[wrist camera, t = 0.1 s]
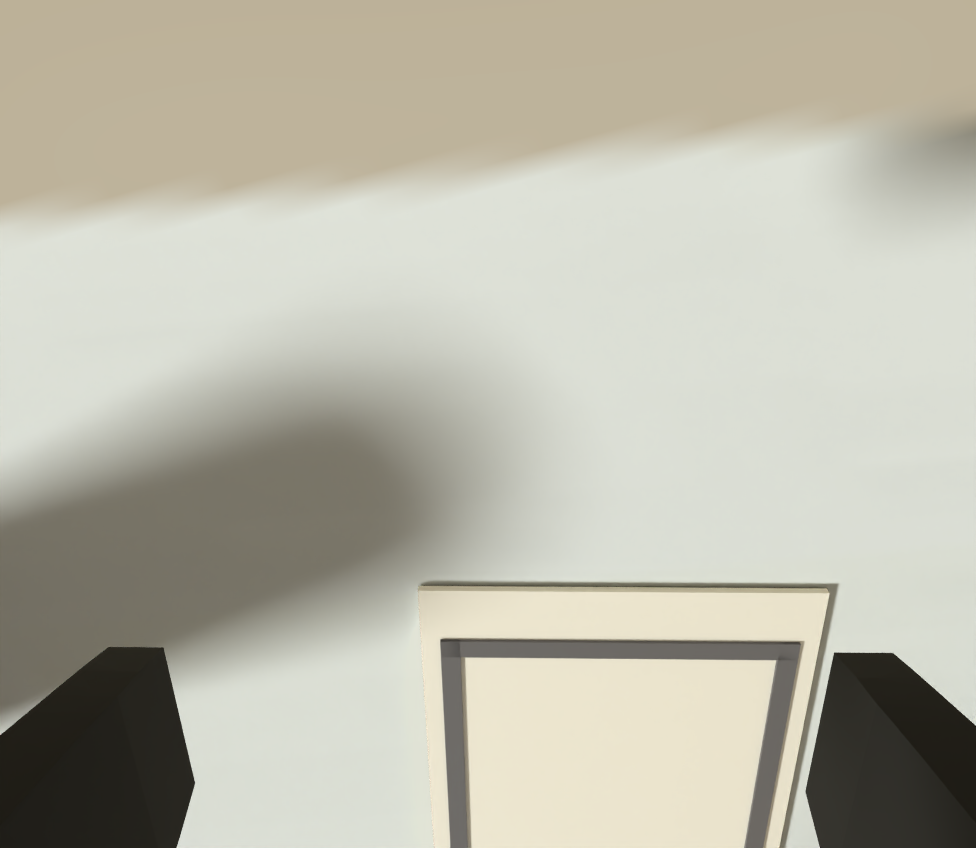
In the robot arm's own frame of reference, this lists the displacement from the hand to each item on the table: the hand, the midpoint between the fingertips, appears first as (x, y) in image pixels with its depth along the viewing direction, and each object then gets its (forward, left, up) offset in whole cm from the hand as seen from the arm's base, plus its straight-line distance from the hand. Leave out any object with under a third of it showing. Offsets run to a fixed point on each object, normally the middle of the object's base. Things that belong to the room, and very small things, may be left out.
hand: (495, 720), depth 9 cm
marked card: (-12, -3, -10) cm, 16 cm away
